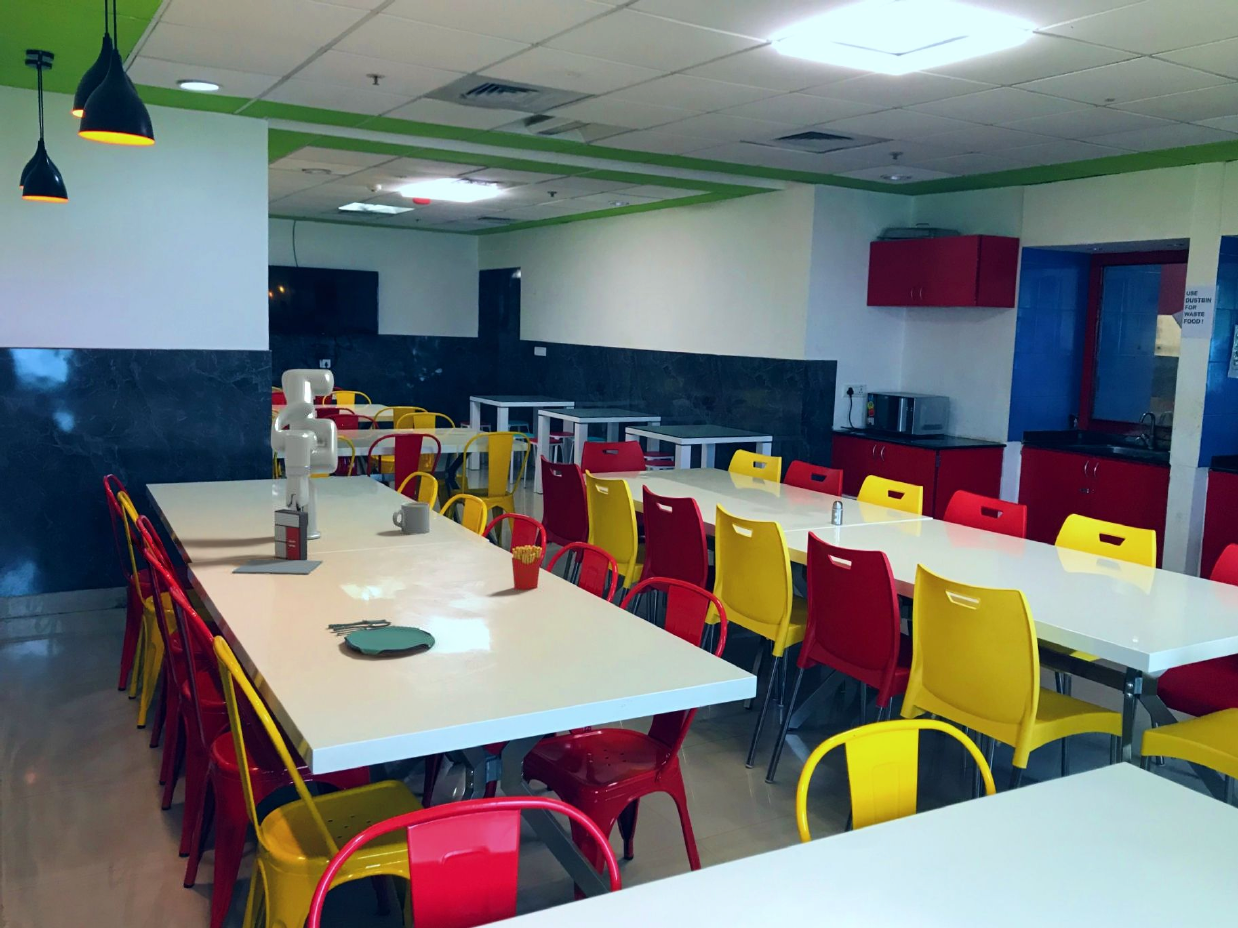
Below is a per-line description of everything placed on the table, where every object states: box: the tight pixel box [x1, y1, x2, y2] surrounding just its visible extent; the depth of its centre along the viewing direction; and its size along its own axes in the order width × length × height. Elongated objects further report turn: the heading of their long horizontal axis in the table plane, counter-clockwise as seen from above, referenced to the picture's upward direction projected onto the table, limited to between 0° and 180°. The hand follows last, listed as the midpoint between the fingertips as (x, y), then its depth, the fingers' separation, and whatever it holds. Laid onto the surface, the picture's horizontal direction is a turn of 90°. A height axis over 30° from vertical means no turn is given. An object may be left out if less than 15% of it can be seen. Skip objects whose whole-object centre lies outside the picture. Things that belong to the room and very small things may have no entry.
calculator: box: [274, 508, 308, 561], centre depth 317 cm, size 11×4×15 cm, turn 62°
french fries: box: [511, 544, 543, 591], centre depth 288 cm, size 8×4×12 cm, turn 111°
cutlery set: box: [327, 619, 436, 656], centre depth 238 cm, size 20×30×2 cm, turn 34°
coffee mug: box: [392, 501, 430, 534], centre depth 364 cm, size 13×10×10 cm
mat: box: [232, 558, 323, 575], centre depth 305 cm, size 16×22×1 cm
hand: (298, 527), depth 325 cm, fingers closed
